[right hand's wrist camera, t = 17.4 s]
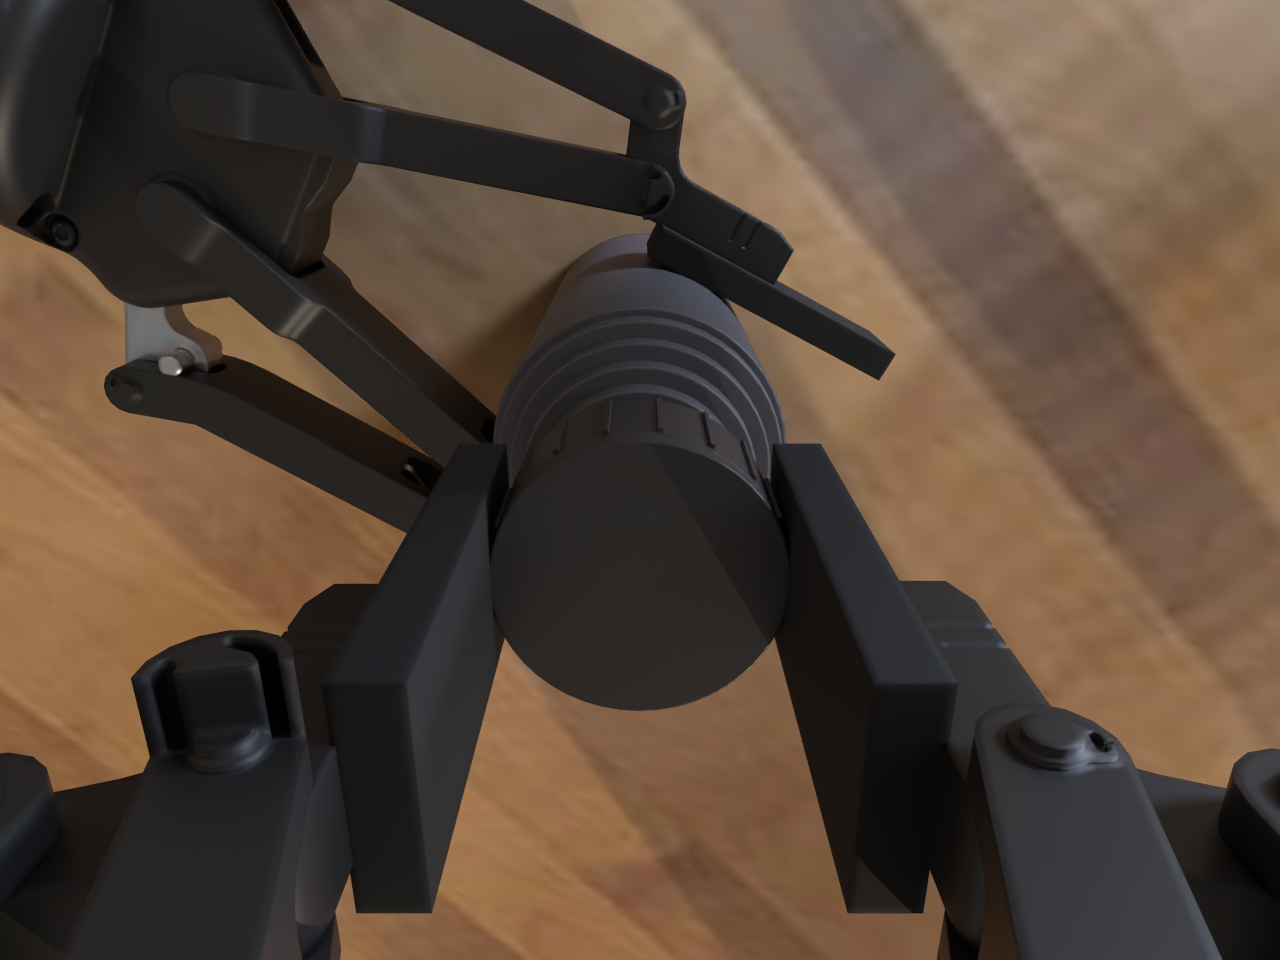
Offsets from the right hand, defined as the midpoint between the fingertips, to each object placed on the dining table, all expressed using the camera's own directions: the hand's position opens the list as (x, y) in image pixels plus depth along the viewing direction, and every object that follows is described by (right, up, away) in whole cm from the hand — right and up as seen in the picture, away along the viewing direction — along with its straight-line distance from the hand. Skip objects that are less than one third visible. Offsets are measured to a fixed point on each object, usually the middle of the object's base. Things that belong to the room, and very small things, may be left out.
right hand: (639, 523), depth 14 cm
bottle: (0, +6, +15) cm, 16 cm away
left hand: (+5, +1, +10) cm, 11 cm away
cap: (0, -1, -2) cm, 2 cm away
